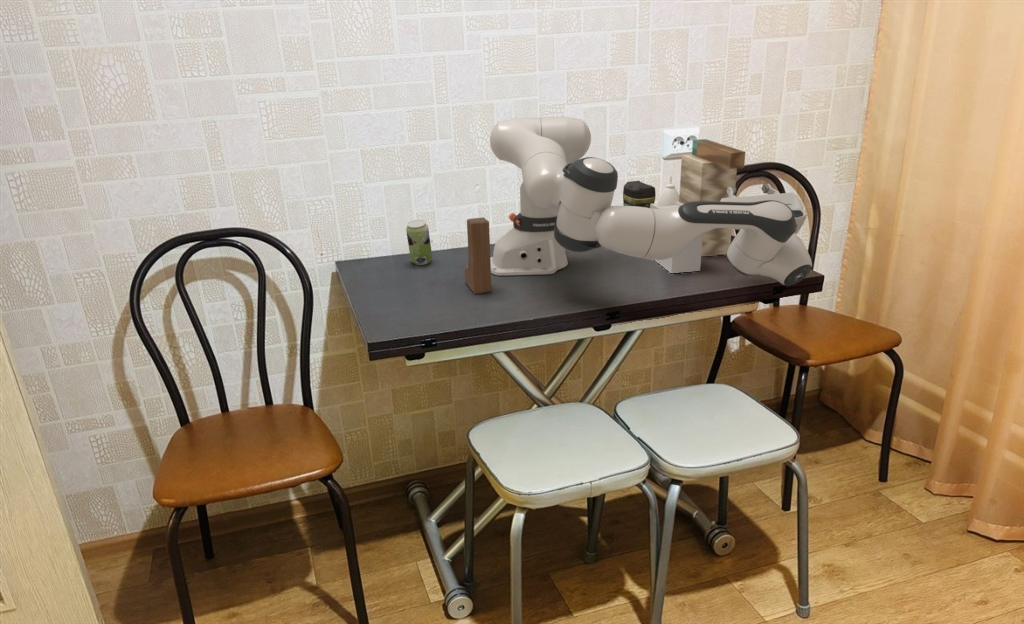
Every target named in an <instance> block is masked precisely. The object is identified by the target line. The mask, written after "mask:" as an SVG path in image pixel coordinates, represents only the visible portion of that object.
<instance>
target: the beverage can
mask: <svg viewBox="0 0 1024 624" xmlns="http://www.w3.org/2000/svg"><path fill="white" fill-rule="evenodd" d="M405 231H406V239H407V243H408V250H409V251H408V252H409V258H410V261H411V263H413V264H414V265H417V266H425V265H426V264H429V263H430V262H432V260H433V253H432V244H431V236H430V230H429V225H428V224H427V223H426V221H425V220H422V219H414V220H411V221H410V222H408V223H407V226H406V228H405Z"/></svg>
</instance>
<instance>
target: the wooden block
mask: <svg viewBox="0 0 1024 624" xmlns="http://www.w3.org/2000/svg"><path fill="white" fill-rule="evenodd" d="M466 229H467V230H466V231H467V235H466V236H467V254H468V265H467V266H465V267H464V278H465V279H464V281H465V284H466V286H467V287H468V288H469V289H470V290H471V291H472V293H473V294H475V295H477V294H485V293H486V292H487V293H491V292H492V273H491V261H490V257H491V240H490V239H491V238H490V222H489V220H487V219H486V218H485V217H475V218H468V219H466Z"/></svg>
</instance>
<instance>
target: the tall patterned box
mask: <svg viewBox="0 0 1024 624" xmlns="http://www.w3.org/2000/svg"><path fill="white" fill-rule="evenodd" d="M680 162H681V164H680V177H679V178H680V182H679V202H680V203H682V204H685V203H688V202H695V201H716V202H720V200H721V199H722V198H728V196H729V195H728V193H727V189H728V187H732V186H734V187H735V188H736V184H737V172H738V168H735V169H728V168H726V167H723V166H721V165H718V164H715V163H713V162H710V161H708V160H705V159H702V158H700V157H697V156H695V155H692V154H682V155H681V161H680ZM732 230H733V229H728V228H716V229H712V230H709V231H707V232H705V233H703V238H702V252H701V256H708V255H716V254H726V252H727V249H728V248H729V246H730V244H731V242H732Z"/></svg>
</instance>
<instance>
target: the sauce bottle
mask: <svg viewBox="0 0 1024 624" xmlns="http://www.w3.org/2000/svg"><path fill="white" fill-rule="evenodd" d="M669 177H670V179H669V184H668V183H667V184H666V185H665V187H664V189H663V190H662V192H661V194H660V196H659V197H658V199H657V203H656V205H657V206H658V207H660V206H673V205H675V202H679V195H680V193H679V192H678V190H677V188H676V185H675V184H673V183H672V176H669Z"/></svg>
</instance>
